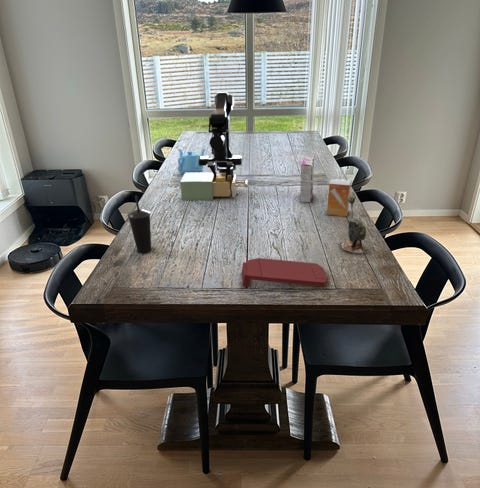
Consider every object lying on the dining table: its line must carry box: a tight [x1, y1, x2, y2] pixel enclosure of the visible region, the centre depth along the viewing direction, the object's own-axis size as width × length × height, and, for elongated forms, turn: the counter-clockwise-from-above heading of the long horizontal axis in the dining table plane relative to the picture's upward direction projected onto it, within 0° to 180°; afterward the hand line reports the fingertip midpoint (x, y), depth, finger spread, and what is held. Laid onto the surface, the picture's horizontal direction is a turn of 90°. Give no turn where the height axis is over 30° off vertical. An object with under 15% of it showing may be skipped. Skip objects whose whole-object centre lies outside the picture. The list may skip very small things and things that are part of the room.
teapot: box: [176, 148, 206, 174], centre depth 238 cm, size 15×15×10 cm
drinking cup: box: [126, 194, 152, 254], centre depth 153 cm, size 8×8×20 cm
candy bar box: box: [299, 157, 315, 203], centre depth 195 cm, size 11×5×16 cm, turn 168°
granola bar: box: [216, 172, 226, 182], centre depth 202 cm, size 4×8×3 cm, turn 177°
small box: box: [326, 178, 353, 217], centre depth 180 cm, size 8×6×13 cm
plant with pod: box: [339, 191, 367, 255], centre depth 149 cm, size 8×11×20 cm
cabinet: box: [179, 171, 215, 201], centre depth 205 cm, size 14×13×8 cm
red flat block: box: [240, 257, 328, 288], centre depth 138 cm, size 12×5×25 cm
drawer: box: [212, 173, 249, 198], centre depth 204 cm, size 18×12×7 cm, turn 87°
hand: (221, 179), depth 203 cm, fingers closed on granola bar, 4 cm apart
